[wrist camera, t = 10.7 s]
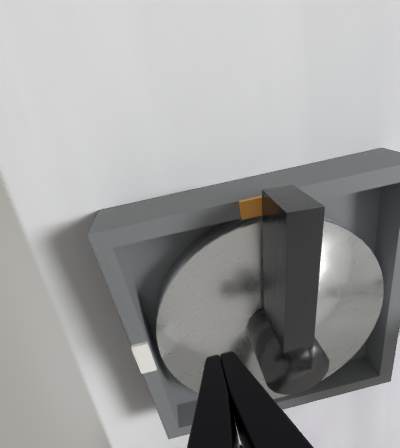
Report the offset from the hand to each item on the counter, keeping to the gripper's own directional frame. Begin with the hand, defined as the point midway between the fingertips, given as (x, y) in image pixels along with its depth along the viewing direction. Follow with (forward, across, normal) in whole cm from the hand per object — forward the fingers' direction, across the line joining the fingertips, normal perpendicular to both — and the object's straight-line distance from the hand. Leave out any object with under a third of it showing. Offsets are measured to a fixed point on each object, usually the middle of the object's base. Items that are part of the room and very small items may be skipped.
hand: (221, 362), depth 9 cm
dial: (+9, -4, +6) cm, 12 cm away
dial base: (+11, -4, +7) cm, 14 cm away
